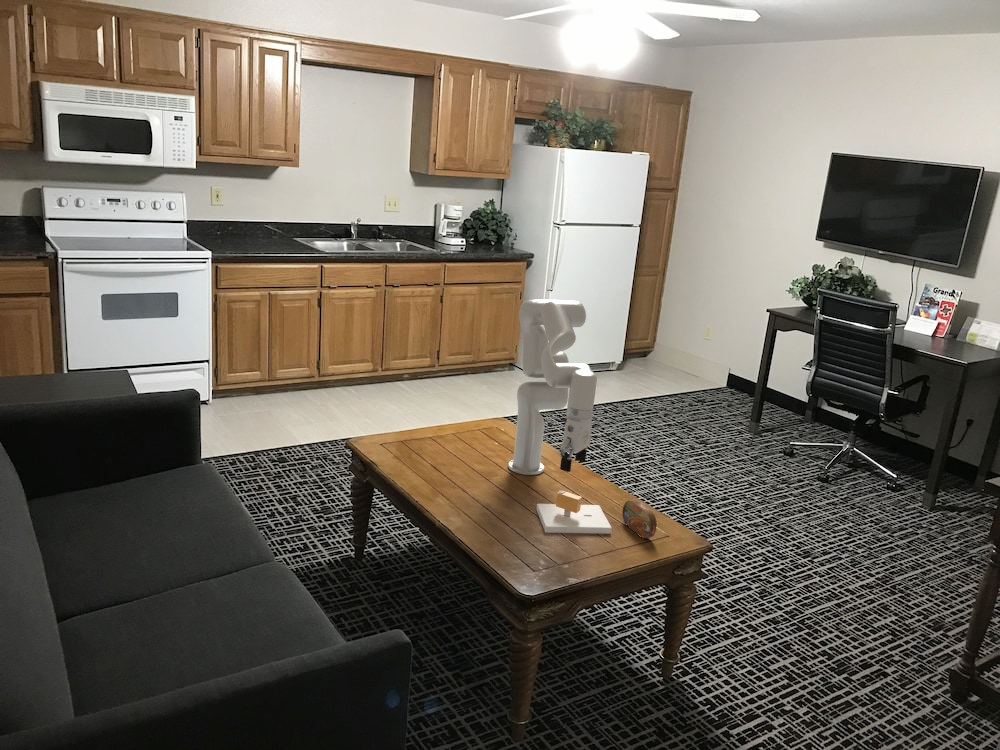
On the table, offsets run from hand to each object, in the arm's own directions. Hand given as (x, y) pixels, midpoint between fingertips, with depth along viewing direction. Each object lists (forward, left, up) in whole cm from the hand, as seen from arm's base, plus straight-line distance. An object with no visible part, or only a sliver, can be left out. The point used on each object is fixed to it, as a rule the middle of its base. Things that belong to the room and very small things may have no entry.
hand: (572, 465), depth 240 cm
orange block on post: (0, 0, -14) cm, 14 cm away
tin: (+6, +21, -19) cm, 29 cm away
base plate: (0, +2, -18) cm, 18 cm away
